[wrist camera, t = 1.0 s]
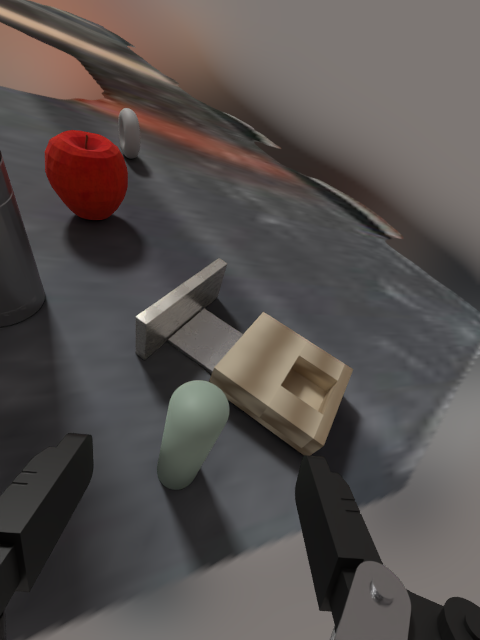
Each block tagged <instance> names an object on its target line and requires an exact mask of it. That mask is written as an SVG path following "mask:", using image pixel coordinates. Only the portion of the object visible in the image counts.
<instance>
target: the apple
mask: <svg viewBox="0 0 480 640" xmlns="http://www.w3.org/2000/svg"><path fill="white" fill-rule="evenodd" d="M45 172H46V175H47V177H48V180H49V182H50V184H51V186H52V188H53V189H54V190H55V192H56V193H57V194H58V196H59V197H60V198H61V200H62V201H63V202H64V203H65V204H66V206H67V207H68V208H69V209H70V210H71V211H72V212H73V213H75V214H76V215H77V216H79V217H81V218H84V219H88V220H102V219H106V218H108V217H109V216H111V215H112V214H113V213H114V212H115V211H116V210H117V209H118V207H119V206H120V204H121V202H122V201H123V199H124V196H125V193H126V190H127V187H128V173H127V167H126V164H125V161H124V158H123V156H122V154H121V152H120V150H119V149H118V147H117V146H116V145H114V144H113V143H112V142H111V141H110V140H108V139H107V138H105V137H103V136H101V135H99V134H93V133H88V132H83V131H75V130H70V131H65V132H63V133H61V134H59V135H57V136H55V137H53V138H52V139H50V141H49V143H48V145H47V148H46V150H45Z"/></svg>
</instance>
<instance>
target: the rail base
mask: <svg viewBox="0 0 480 640" xmlns="http://www.w3.org/2000/svg"><path fill="white" fill-rule="evenodd" d="M226 266H227V263H226V262H224V261H222V260H221V259H217V260H216V261H214V262H213V263H212V264H210V265H209V266H207V267H206V268H204V269H203V270H202V271H200V272H199V273H197V274H196V275H194V276H193V277H192V278H190V279H189V280H187V281H186V282H184V283H183V284H182V285H180V286H179V287H177V288H176V289H174V290H173V291H172V292H170V293H169V294H167V295H166V296H164V297H163V298H162V299H160V300H159V301H157V302H156V303H155V304H153V305H152V306H150V307H149V308H147V309H146V310H145V311H143V312H142V313H140V314H139V315H137V316H136V354H137V355H138V356H140V357H141V358H142V359H144V360H145V359H147V358H148V357H149V356H150V355H151V354H152V353H154V352H155V351H156V350H157V349H158V348H159V347H161V346H162V345H163V344H164V343H165V342H166V341H168V343H170V344H171V345H173V346H174V347H175V348H177V349H178V350H179V351H181V352H182V353H184V354H185V355H186V356H188V357H189V358H191V359H192V360H193V361H195V362H196V363H197V364H199V365H200V366H202V367H203V368H204V369H206V370H207V371H209V372H210V373H211V374H212V372H213V369H214V367H215V366H216V365H217V364H218V363H219V362H220V360H221V359H222V358H223V357H224V356H225V355H226V354H227V352H228V351H229V350H230V349H231V348H232V347H233V346H234V345H235V343H236V342H237V341H238V340H239V339H240V338H241V337H242V336H243V334H242V333H240V332H239V331H237V330H236V329H234V328H233V327H231V326H230V325H228V324H227V323H225V322H224V321H222V320H221V319H219V318H218V317H216V316H215V315H213V314H212V313H210V312H209V311H207V310H206V309H205V308H206V307H207V306H208V305H209V304H211V303H212V302H213V301H214V300H215V299H216V298H217V297H218V294H219V291H220V287H221V284H222V280H223V277H224V273H225V270H226Z"/></svg>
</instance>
